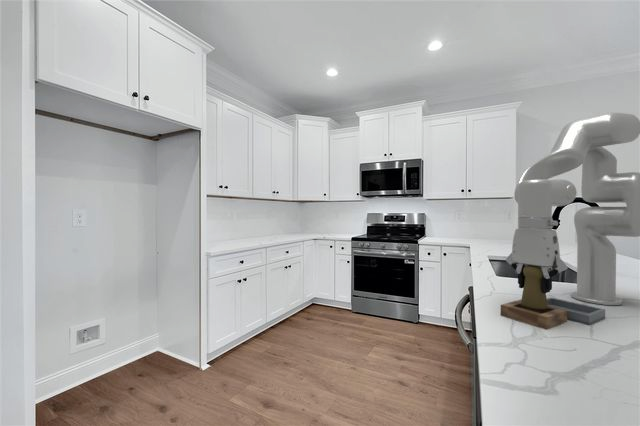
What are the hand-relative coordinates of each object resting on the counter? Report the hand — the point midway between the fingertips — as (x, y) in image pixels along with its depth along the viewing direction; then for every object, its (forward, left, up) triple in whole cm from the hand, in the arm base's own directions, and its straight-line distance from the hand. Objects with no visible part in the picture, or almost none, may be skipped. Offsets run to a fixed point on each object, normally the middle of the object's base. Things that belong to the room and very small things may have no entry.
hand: (534, 289), depth 80 cm
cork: (0, 0, -5) cm, 5 cm away
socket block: (0, 0, -8) cm, 8 cm away
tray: (-13, +3, -8) cm, 15 cm away
